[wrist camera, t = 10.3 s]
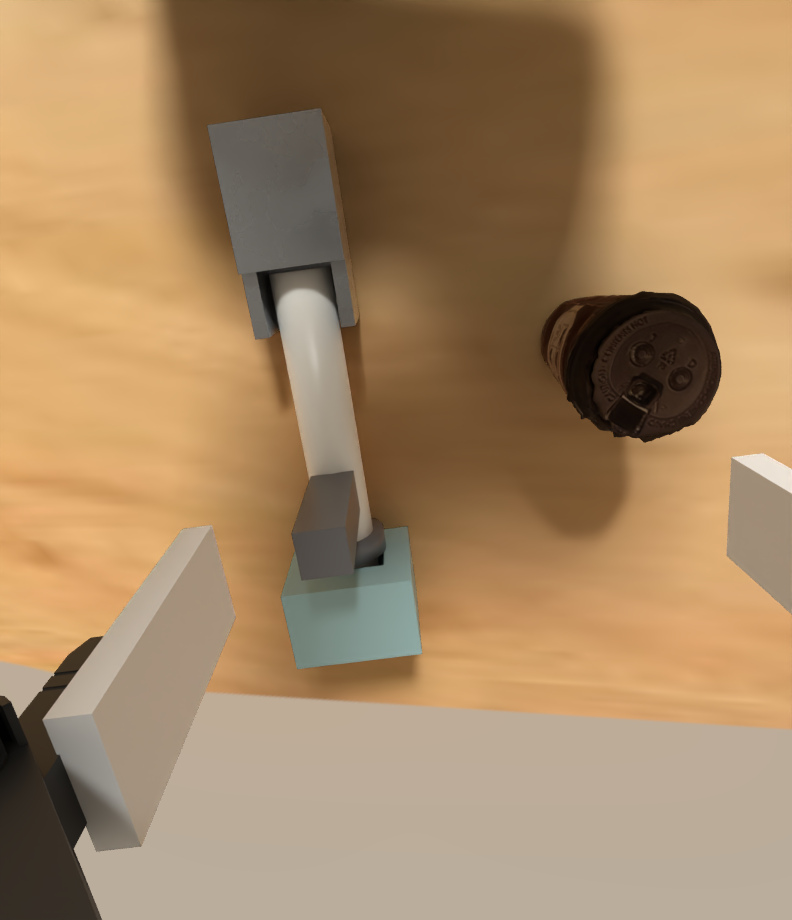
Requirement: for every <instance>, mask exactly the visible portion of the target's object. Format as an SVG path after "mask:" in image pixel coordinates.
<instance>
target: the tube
mask: <svg viewBox="0 0 792 920" xmlns="http://www.w3.org/2000/svg"><path fill="white" fill-rule="evenodd" d="M269 278H270V283H271V288H272V293H273V298H274V303H275V308H276V314H277V319H278V324H279V329H280V334H281V339H282V344H283V349H284V354H285V360H286V365H287V370H288V375H289V380H290V385H291V390H292V395H293V400H294V405H295V411H296V416H297V421H298V426H299V431H300V436H301V441H302V446H303V451H304V457H305V462H306V467H307V472H308V477H309V483H308V486H307V489H306V492H305V495H304V498H303V501H302V504H301V507H300V510H299V513H298V516H297V518H296V521H295V524H294V527H293V530H292V533H291V534H292V539H293V543H294V548H295V553H296V557H297V562H298V567H299V572H300V576H301V581H303V580H311V579H319V578H327V577H335V576H343V575H351V574H354V569H357V568H365V567H373V566H379V562H378V557H379V556H380V555H381V554H382V553H383V552H384V551H385V549H386V540H385V534H384V527H383V524H382V523H381V522H380V521H379V520H377V519H375V518H372V517H371V513H370V507H369V501H368V495H367V489H366V483H365V476H364V470H363V464H362V458H361V452H360V446H359V440H358V433H357V427H356V421H355V415H354V409H353V403H352V397H351V390H350V384H349V378H348V372H347V366H346V360H345V354H344V348H343V341H342V335H341V329H340V323H339V317H338V311H337V305H336V298H335V292H334V286H333V280H332V274H331V268H330V266H323V267H316V268H309V269H302V270H295V271H288V272H281V273H275V274H269Z"/></svg>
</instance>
